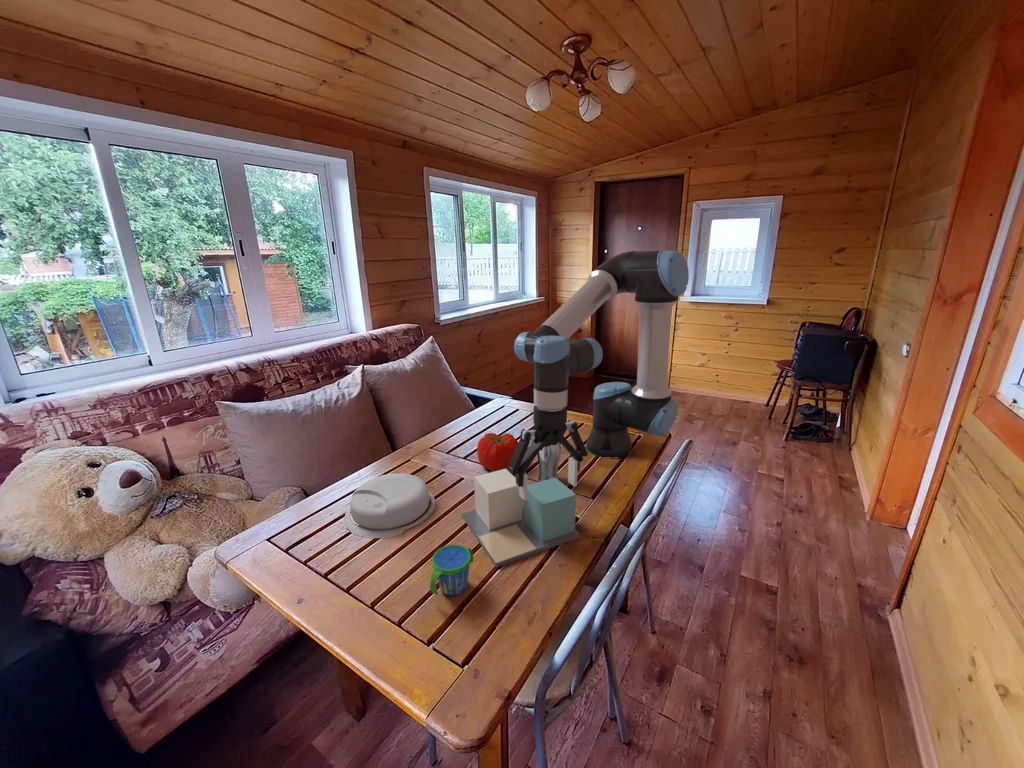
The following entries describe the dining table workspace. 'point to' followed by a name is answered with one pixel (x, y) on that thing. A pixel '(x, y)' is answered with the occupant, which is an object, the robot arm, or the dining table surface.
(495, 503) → the ivory cuboid
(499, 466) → the tomato
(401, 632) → the dining table surface
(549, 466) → the beer glass
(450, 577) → the snack cup
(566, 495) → the seafoam cube
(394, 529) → the round ceiling alarm
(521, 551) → the board
